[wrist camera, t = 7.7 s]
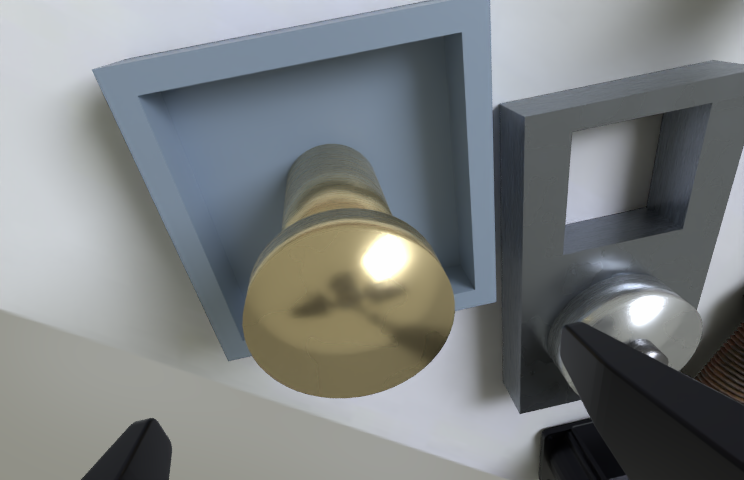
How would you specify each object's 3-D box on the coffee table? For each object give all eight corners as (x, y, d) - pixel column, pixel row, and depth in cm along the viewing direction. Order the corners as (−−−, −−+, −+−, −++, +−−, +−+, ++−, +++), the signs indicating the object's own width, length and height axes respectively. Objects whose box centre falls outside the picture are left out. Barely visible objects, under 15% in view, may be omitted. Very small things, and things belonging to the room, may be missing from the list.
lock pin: (399, 228, 20) (460, 374, 12) (288, 252, 20) (276, 416, 12) (382, 115, 18) (446, 208, 10) (253, 141, 17) (209, 258, 9)
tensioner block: (648, 348, 28) (718, 418, 23) (503, 382, 28) (543, 460, 23) (713, 60, 19) (848, 79, 14) (499, 103, 19) (565, 138, 14)
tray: (474, 268, 23) (496, 301, 20) (237, 319, 23) (228, 361, 20) (460, -6, 17) (489, -8, 14) (126, 59, 16) (91, 70, 13)
